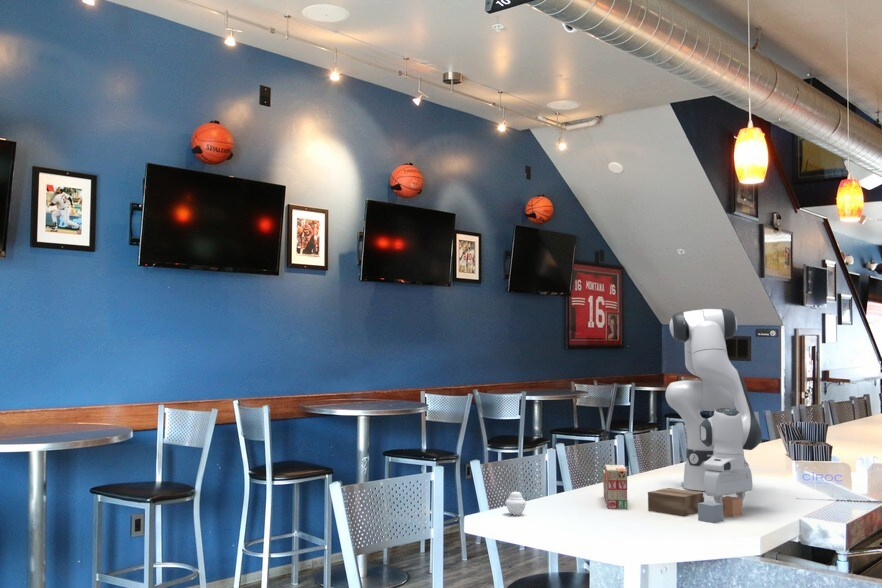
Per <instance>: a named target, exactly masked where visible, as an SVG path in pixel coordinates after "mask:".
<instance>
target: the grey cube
mask: <svg viewBox="0 0 882 588" xmlns="http://www.w3.org/2000/svg"><path fill="white" fill-rule="evenodd" d="M697 520H698V521H699V522H705V523H711V524H716V523H721V522H724V515H723V504H720V503H716V502H713V501H704V502H702V503H698V513H697Z"/></svg>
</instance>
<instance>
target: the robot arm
mask: <svg viewBox="0 0 882 588" xmlns="http://www.w3.org/2000/svg"><path fill="white" fill-rule="evenodd" d="M737 329H738V319H737V317H736V316H735V313H734V312H733V311H732V310H731V309H729V308H719V309H718V308H701V309H696V310H695V309H694V310H688V311H679V312H676V313H673V314H672V315H671V318H670V321H669V332H670V334H671V337H672V339H674V340H675V341H677V342H681V343H684V365H685V368H686V370H687V371H688V372H690V373H691V374H692V375H693V376H696V377H698V378H699V379H701V380H688V379H687V380H678V381H673V382H670V383H669V384H668V386H667V388H666V390H665V395H664V396H665V400H666V403H667V404H668V406H669V407H670V408H671V409H673V410H674V411H675V412H676V413H677V414H678V415H679V416H680V417H681V419H682V421H683V424H684V426H685V431H686V440H687V443H686V445H687V448H686V449H685V450H686V451H685V455H686V456H685V457H686V462H685V463H684V469H683V481H681V482H680V483H681V484H680V485H681V486H683V488H684V489H685V490H690V491H697V492H705V494H706V496H707V497H713V500H714V501H715V502H714V503H720V504H723V502H722V499H723V497H724V496H729V495H733V494H735V495H736V498H742V507H743V505H744V503H743V502H744V499H745V496H746V495H745V494H746V492H750V491H752V490H753V478H752V477H753V476H752V470H751V468H750V465H749V463H748V462H747V460H746V461H744V458H745V450H746V451H753V449H755V448H757V447H758V446H759V444H761V442H762V438H763V435H762V428H761V426H760V424H759V422H758V421H759V420H758V419H757V417H756V415H755V411H754V408H753V406H752V402H751V399H750V396H749V392H748V389H747V387H746V383H745V381H744V378H743V376H742V373H741V371H740V370H739V369H738V368H736V367H735V366H734V365H733V364H732V362H731V361H730V359H729V355H728V350H727V344H726V340H728V339H731V338H733V337H734V336H735V335H736V333H737ZM705 411H707V412H709V411H710V412H713V415H712V416H710V417H709V418H704V417H702V415H701V412H705ZM723 510H725V505H724V504H723Z"/></svg>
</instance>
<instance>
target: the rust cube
mask: <svg viewBox="0 0 882 588" xmlns="http://www.w3.org/2000/svg"><path fill="white" fill-rule="evenodd" d="M722 502H723V504H724V505H725V510H723V516H725V517H732V518H734V517H738V516H739V517H740V516H743V506H742V498H737V496H729V495H723V499H722Z"/></svg>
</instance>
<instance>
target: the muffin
mask: <svg viewBox="0 0 882 588" xmlns="http://www.w3.org/2000/svg"><path fill="white" fill-rule="evenodd" d="M505 505H506V508H507V510H508V513H509V514H513V515H519V516H521V515H522V514H523V512H524V511H525V508H526V505H527V502H526V500H525V499H524V498H523V495H522V493H521V492H519V491H516V490H515V491H512V492H510V494H509V496H508V498H507V499H506V500H505ZM520 514H521V515H520ZM513 515H512V516H513Z"/></svg>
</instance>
